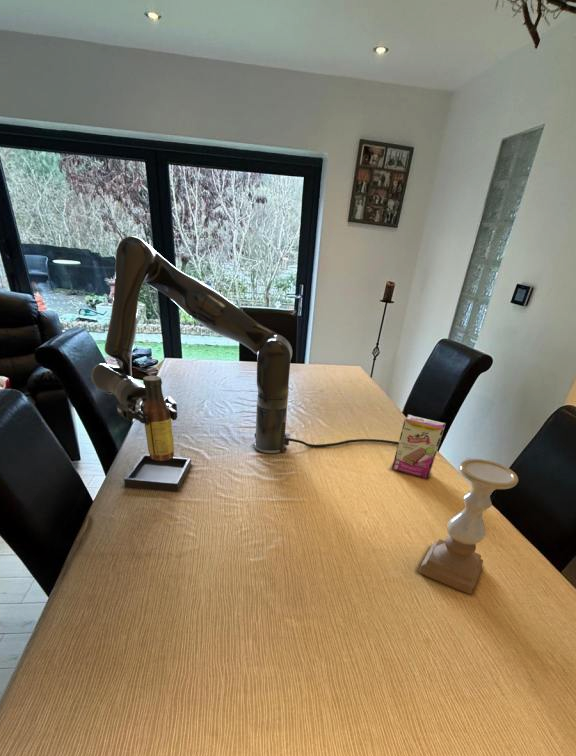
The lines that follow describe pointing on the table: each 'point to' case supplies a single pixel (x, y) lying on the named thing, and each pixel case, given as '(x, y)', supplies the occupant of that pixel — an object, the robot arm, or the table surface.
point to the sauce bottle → (157, 421)
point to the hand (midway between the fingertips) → (161, 418)
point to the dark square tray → (158, 473)
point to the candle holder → (467, 527)
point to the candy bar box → (418, 446)
